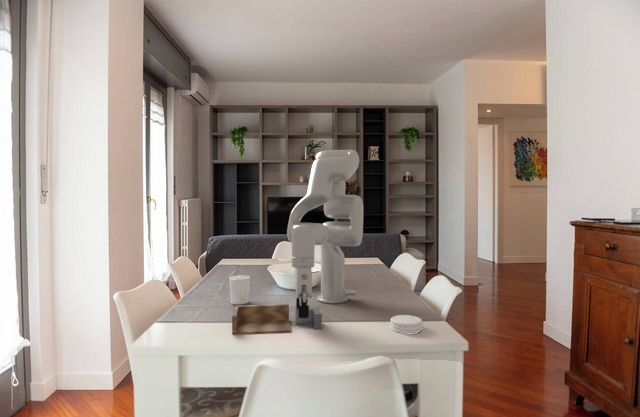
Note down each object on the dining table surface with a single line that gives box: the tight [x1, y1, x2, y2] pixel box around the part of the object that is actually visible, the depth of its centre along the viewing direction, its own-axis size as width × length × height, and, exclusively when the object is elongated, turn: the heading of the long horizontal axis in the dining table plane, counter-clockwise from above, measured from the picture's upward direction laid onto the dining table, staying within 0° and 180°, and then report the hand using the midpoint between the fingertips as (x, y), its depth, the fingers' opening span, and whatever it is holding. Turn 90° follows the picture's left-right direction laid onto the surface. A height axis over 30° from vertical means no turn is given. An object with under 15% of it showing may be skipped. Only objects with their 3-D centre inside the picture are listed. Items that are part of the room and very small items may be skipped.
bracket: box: [294, 306, 323, 330], centre depth 139 cm, size 8×7×5 cm
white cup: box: [228, 274, 251, 306], centre depth 167 cm, size 8×8×10 cm
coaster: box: [390, 314, 423, 334], centre depth 137 cm, size 10×10×4 cm
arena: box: [231, 303, 292, 335], centre depth 138 cm, size 18×12×6 cm, turn 97°
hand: (302, 313), depth 141 cm, fingers open, 9 cm apart
